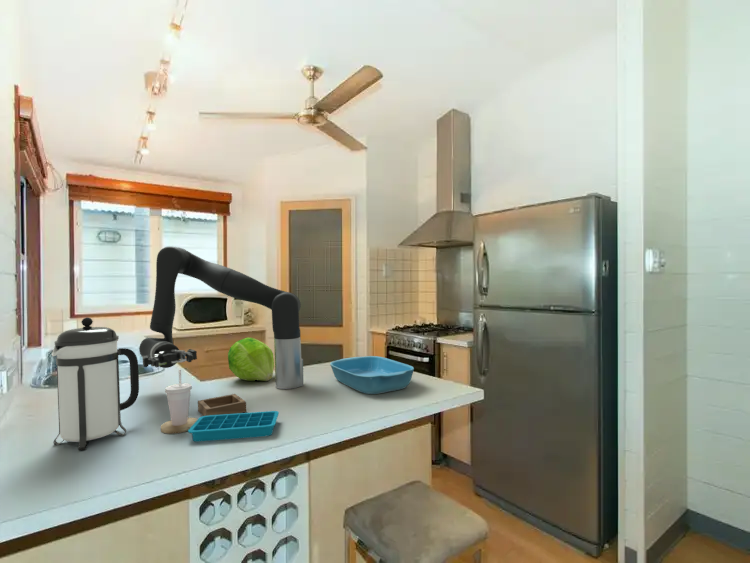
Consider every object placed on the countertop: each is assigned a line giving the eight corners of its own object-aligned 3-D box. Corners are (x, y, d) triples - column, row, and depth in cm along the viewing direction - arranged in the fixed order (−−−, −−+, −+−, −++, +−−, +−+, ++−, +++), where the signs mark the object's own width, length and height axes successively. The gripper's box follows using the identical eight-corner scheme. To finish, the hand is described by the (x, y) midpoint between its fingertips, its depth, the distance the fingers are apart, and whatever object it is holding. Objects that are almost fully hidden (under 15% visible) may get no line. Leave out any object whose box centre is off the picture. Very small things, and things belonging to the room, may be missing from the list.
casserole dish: (322, 378, 157) (322, 359, 157) (373, 370, 168) (373, 352, 168) (366, 402, 125) (366, 378, 125) (426, 390, 135) (425, 369, 135)
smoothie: (182, 428, 103) (180, 373, 103) (160, 427, 105) (158, 372, 104) (198, 419, 110) (196, 367, 109) (177, 418, 111) (175, 367, 111)
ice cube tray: (201, 427, 107) (200, 416, 107) (279, 421, 110) (279, 410, 110) (186, 445, 96) (186, 432, 96) (274, 438, 99) (274, 425, 99)
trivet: (198, 418, 113) (198, 415, 113) (199, 429, 105) (199, 425, 105) (161, 424, 109) (161, 421, 109) (160, 436, 101) (160, 432, 101)
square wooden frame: (198, 410, 120) (197, 400, 120) (235, 403, 126) (234, 393, 126) (207, 420, 111) (206, 409, 111) (246, 412, 118) (246, 401, 118)
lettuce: (242, 392, 144) (269, 356, 145) (209, 359, 152) (234, 325, 154) (268, 395, 159) (292, 362, 161) (237, 365, 168) (260, 334, 169)
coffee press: (121, 446, 95) (116, 318, 95) (39, 456, 91) (34, 322, 91) (140, 421, 112) (137, 312, 112) (72, 429, 108) (68, 315, 107)
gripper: (138, 345, 125) (144, 351, 112) (188, 339, 134) (199, 344, 120) (139, 369, 125) (146, 378, 112) (189, 362, 134) (201, 369, 120)
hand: (174, 361), depth 116 cm, fingers open, 8 cm apart
